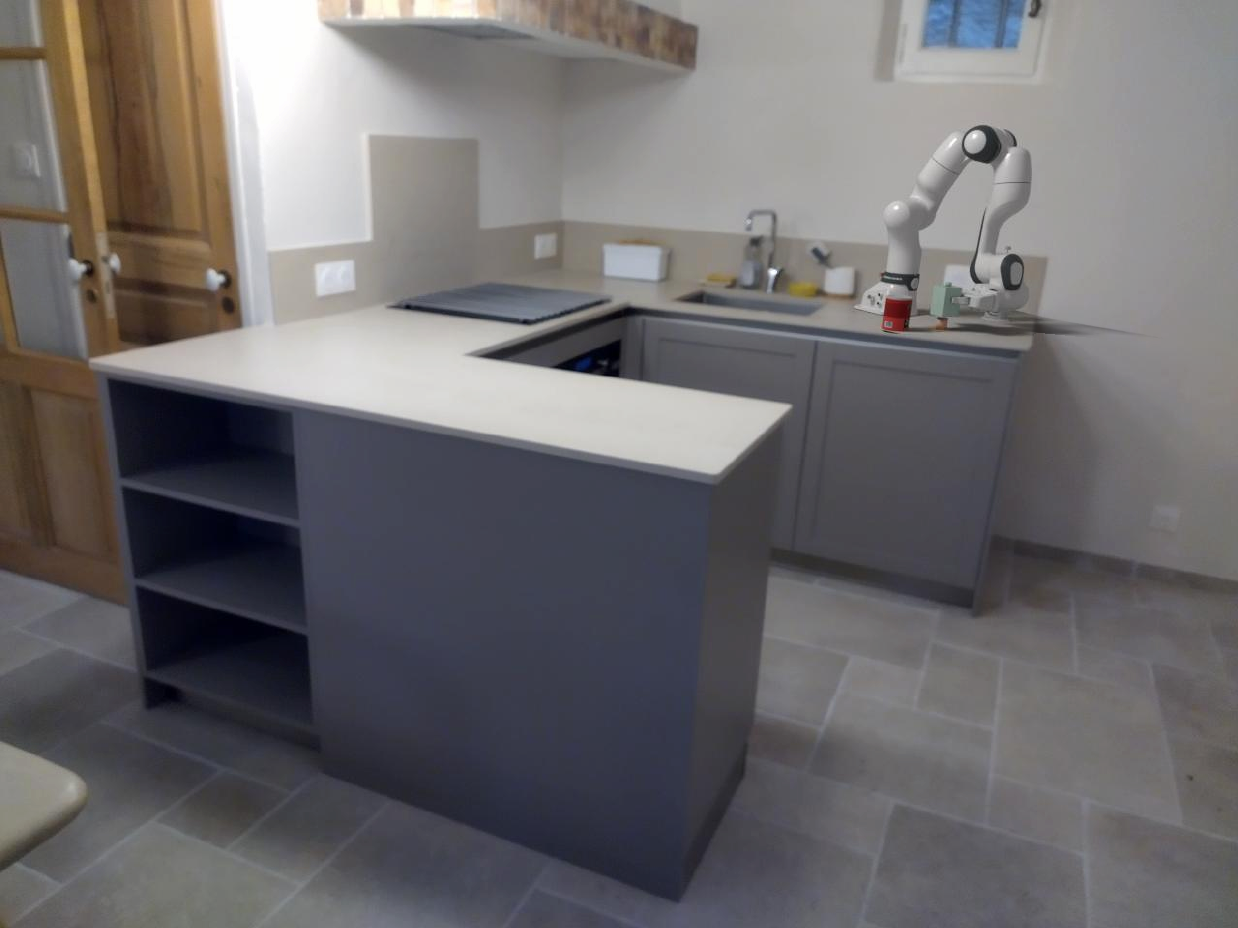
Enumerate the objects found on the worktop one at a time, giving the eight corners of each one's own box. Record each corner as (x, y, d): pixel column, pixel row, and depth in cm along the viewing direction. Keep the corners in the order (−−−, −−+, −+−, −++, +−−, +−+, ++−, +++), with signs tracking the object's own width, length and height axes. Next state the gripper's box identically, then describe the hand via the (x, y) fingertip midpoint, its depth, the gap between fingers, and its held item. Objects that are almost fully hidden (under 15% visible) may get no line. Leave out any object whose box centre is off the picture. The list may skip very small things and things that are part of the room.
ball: (933, 328, 288) (935, 317, 286) (939, 327, 289) (941, 316, 288) (942, 330, 285) (943, 319, 284) (948, 329, 287) (950, 318, 286)
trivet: (919, 329, 290) (920, 326, 290) (943, 328, 293) (944, 326, 293) (937, 334, 282) (937, 331, 282) (961, 334, 285) (961, 331, 285)
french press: (992, 322, 310) (1005, 247, 302) (971, 316, 320) (983, 243, 312) (1016, 322, 312) (1030, 247, 304) (995, 316, 323) (1007, 244, 315)
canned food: (909, 334, 280) (914, 299, 276) (882, 332, 281) (887, 297, 277) (906, 330, 287) (911, 295, 283) (880, 328, 288) (885, 293, 285)
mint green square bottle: (930, 314, 288) (934, 281, 284) (946, 313, 289) (950, 281, 286) (941, 317, 282) (946, 284, 279) (958, 317, 284) (963, 284, 281)
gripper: (961, 283, 296) (925, 283, 292) (1004, 292, 278) (966, 292, 274) (958, 302, 298) (922, 303, 294) (1000, 313, 280) (963, 313, 276)
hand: (944, 298), depth 284 cm, fingers closed on mint green square bottle, 6 cm apart
